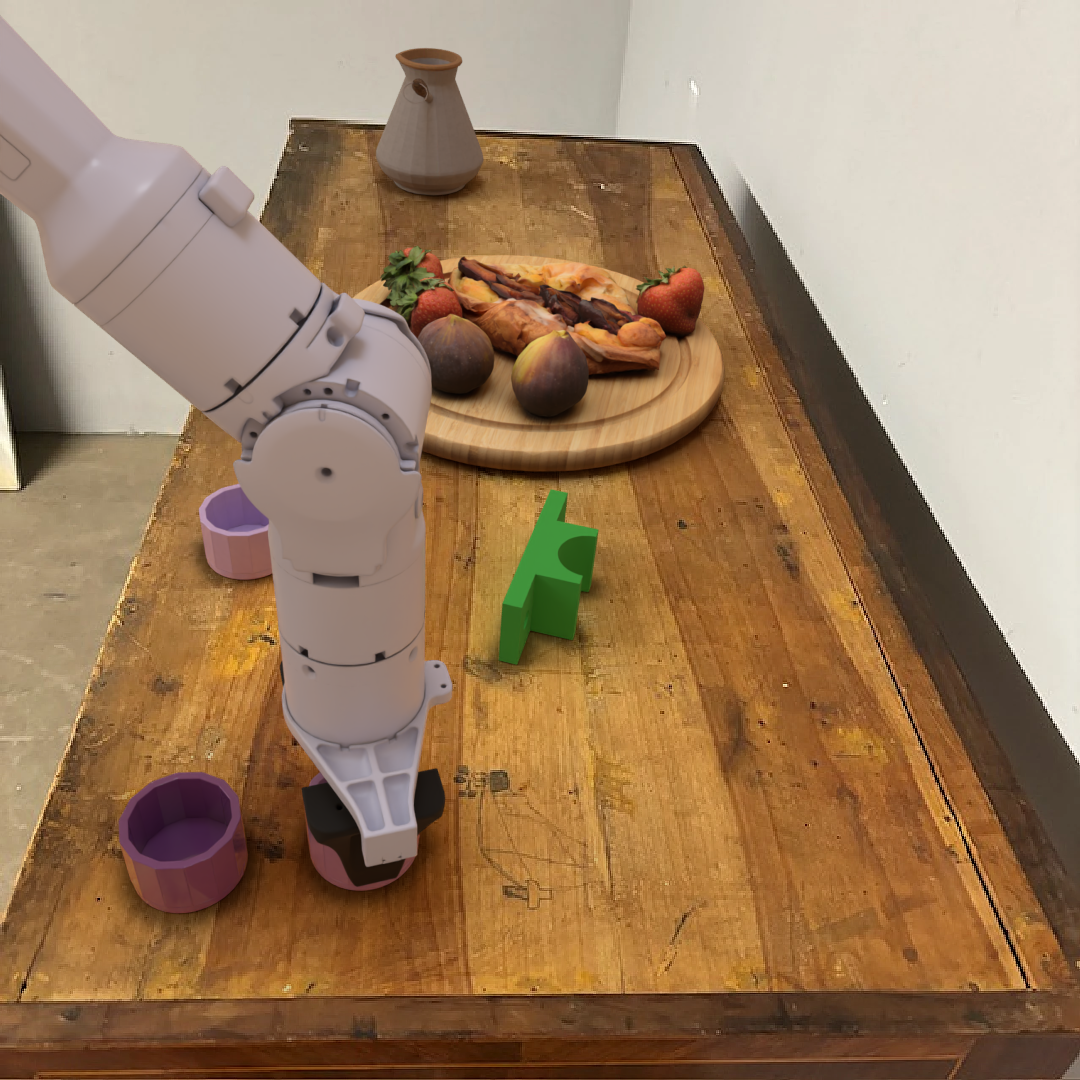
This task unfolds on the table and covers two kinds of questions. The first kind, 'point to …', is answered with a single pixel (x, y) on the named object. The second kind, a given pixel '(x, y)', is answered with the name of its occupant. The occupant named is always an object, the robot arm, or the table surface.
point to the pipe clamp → (548, 580)
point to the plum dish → (184, 841)
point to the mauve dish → (331, 863)
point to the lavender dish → (235, 535)
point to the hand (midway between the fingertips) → (363, 823)
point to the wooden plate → (553, 358)
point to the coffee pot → (429, 127)
